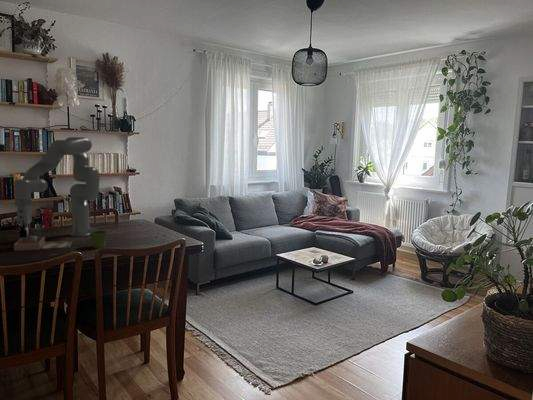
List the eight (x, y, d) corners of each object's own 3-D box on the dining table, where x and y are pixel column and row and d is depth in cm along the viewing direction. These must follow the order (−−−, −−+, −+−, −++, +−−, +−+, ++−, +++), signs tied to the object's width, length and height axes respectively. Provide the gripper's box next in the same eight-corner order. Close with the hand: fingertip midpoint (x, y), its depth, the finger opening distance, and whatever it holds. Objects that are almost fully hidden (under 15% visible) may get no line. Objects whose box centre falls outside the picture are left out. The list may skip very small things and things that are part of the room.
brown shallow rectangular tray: (45, 243, 226) (44, 236, 225) (39, 250, 211) (39, 243, 211) (21, 244, 222) (21, 237, 221) (14, 251, 207) (13, 244, 207)
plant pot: (93, 245, 226) (92, 230, 224) (110, 245, 226) (110, 230, 225) (87, 249, 216) (86, 233, 215) (105, 249, 217) (104, 234, 216)
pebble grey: (29, 237, 218) (29, 227, 217) (27, 238, 214) (27, 228, 214) (21, 237, 217) (20, 227, 216) (19, 239, 213) (18, 228, 212)
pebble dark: (38, 245, 219) (37, 235, 218) (36, 247, 215) (36, 237, 214) (29, 246, 217) (29, 235, 216) (28, 247, 213) (27, 237, 213)
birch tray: (72, 242, 229) (72, 240, 229) (69, 248, 217) (69, 246, 216) (45, 244, 225) (45, 242, 225) (40, 250, 212) (40, 247, 212)
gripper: (27, 204, 207) (28, 239, 209) (34, 200, 222) (35, 233, 225) (10, 204, 204) (12, 240, 206) (18, 200, 220) (20, 233, 222)
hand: (24, 236), depth 215 cm, fingers closed on pebble grey, 4 cm apart
